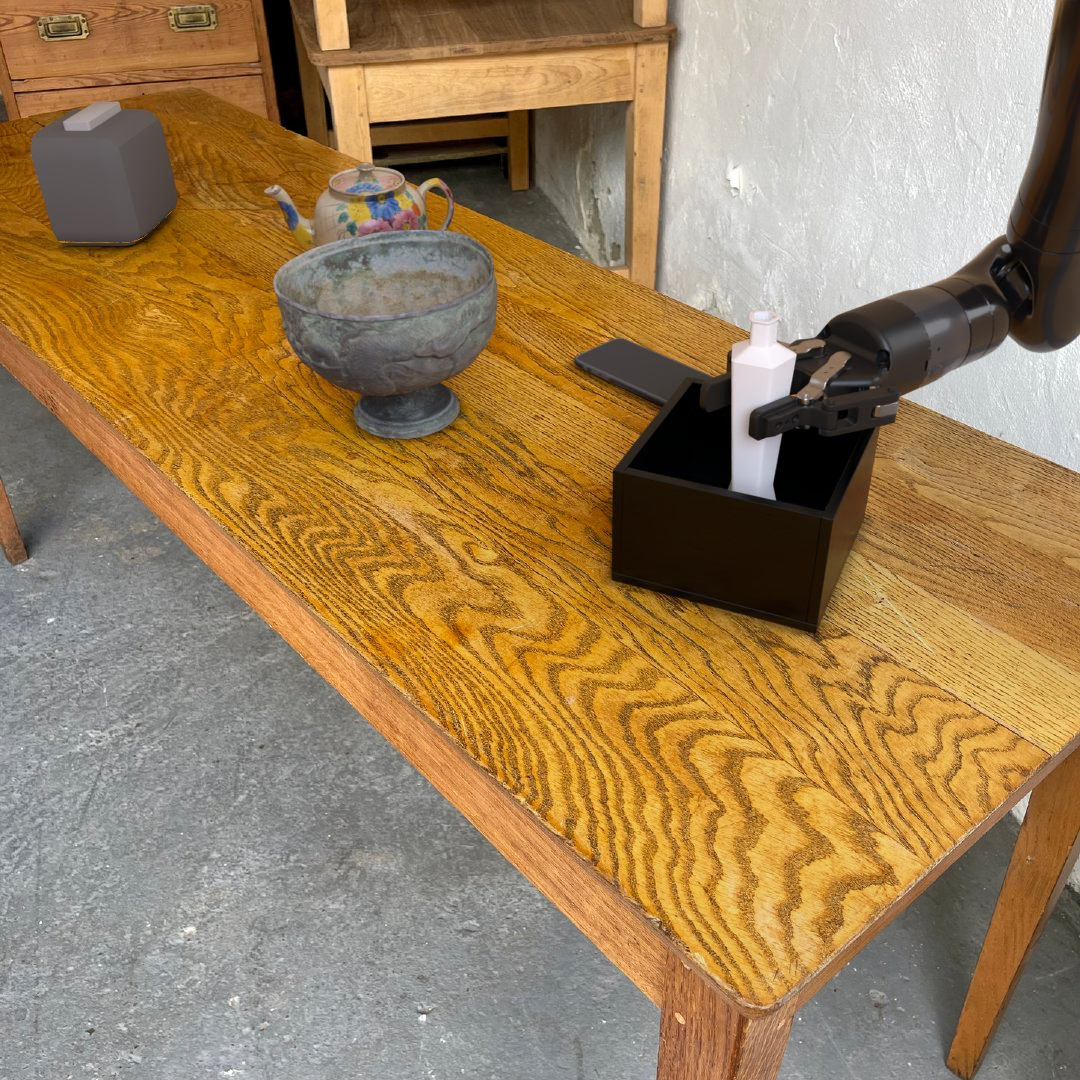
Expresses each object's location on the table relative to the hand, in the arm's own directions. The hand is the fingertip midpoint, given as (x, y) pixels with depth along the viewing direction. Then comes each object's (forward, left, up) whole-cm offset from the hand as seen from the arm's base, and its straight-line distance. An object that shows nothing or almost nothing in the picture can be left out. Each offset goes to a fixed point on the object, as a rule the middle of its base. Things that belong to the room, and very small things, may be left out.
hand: (728, 412), depth 77 cm
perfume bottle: (-1, -2, -9) cm, 9 cm away
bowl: (+35, -10, -13) cm, 39 cm away
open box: (-1, -2, -13) cm, 13 cm away
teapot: (+57, -39, -13) cm, 70 cm away
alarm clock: (+96, -40, -13) cm, 105 cm away
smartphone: (+16, -26, -13) cm, 33 cm away
